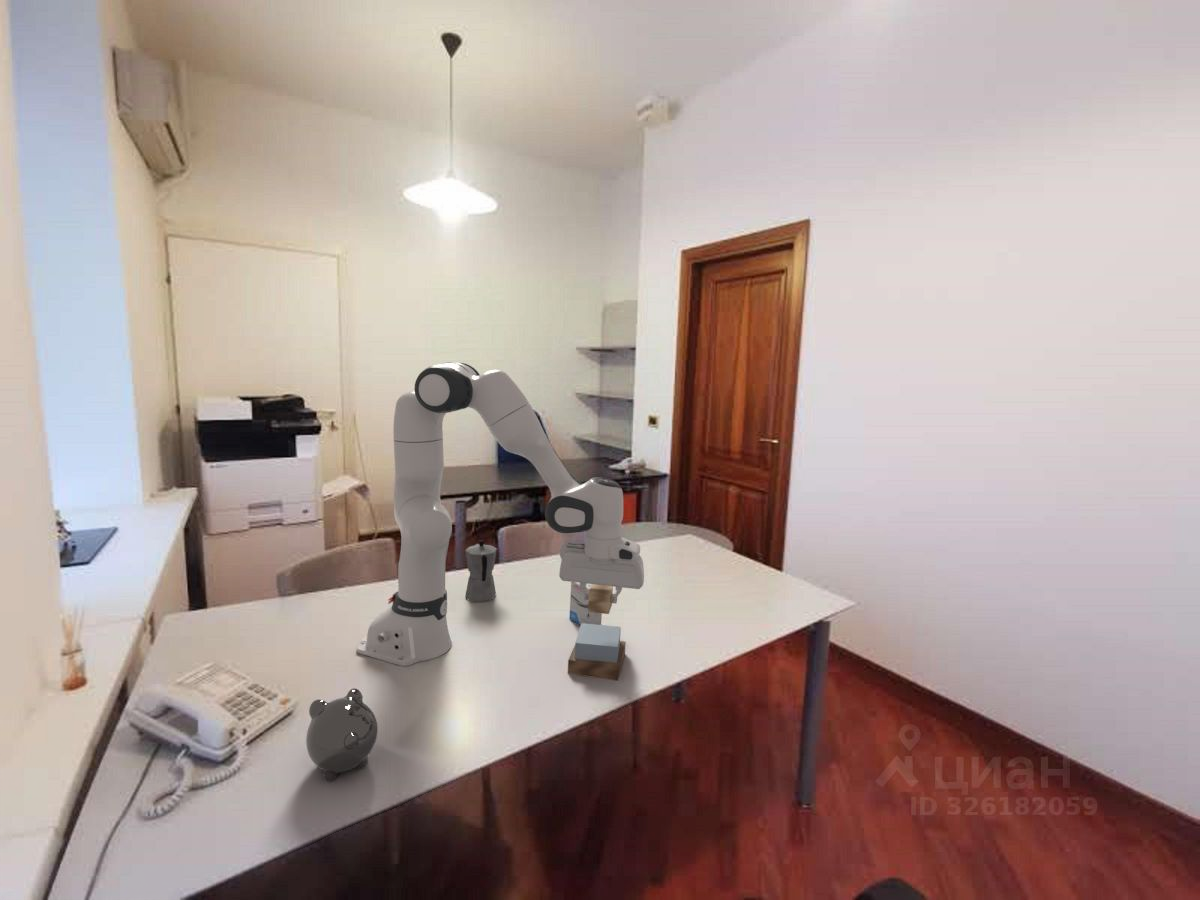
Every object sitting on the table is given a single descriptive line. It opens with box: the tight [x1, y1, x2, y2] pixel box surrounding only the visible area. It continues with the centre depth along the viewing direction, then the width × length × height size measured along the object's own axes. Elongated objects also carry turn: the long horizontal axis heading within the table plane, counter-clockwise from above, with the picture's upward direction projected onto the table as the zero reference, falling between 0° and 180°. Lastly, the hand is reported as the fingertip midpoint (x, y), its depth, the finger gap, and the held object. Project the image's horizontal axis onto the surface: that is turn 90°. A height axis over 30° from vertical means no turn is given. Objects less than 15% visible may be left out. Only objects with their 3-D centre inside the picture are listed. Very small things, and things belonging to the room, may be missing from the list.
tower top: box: [574, 623, 622, 663], centre depth 132 cm, size 10×10×4 cm
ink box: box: [569, 582, 603, 626], centre depth 152 cm, size 9×5×15 cm, turn 47°
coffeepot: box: [464, 539, 498, 603], centre depth 165 cm, size 15×9×18 cm, turn 19°
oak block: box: [588, 584, 614, 615], centre depth 130 cm, size 5×5×5 cm
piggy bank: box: [305, 687, 379, 782], centre depth 95 cm, size 11×15×12 cm
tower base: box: [567, 640, 627, 682], centre depth 132 cm, size 12×12×4 cm
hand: (600, 600), depth 130 cm, fingers closed on oak block, 5 cm apart
